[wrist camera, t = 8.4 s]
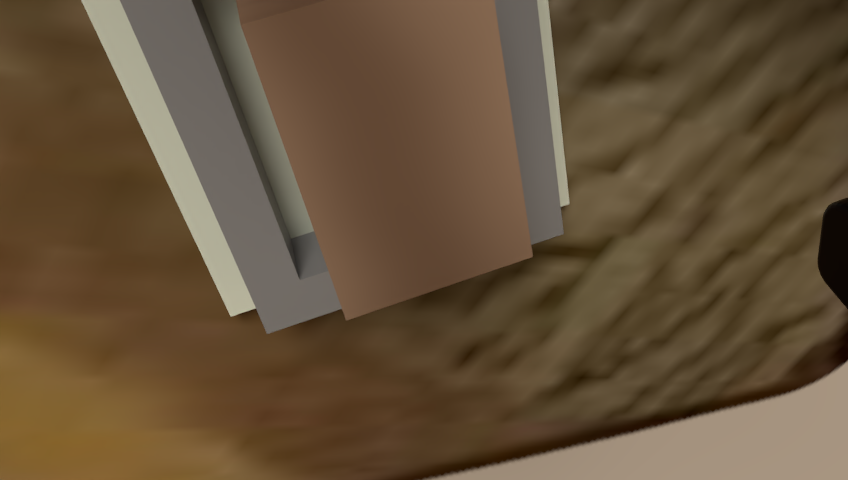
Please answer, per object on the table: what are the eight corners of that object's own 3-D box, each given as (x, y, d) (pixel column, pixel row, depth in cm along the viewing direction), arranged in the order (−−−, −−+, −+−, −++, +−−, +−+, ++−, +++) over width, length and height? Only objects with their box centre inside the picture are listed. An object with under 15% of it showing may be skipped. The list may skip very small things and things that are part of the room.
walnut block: (410, -84, 15) (487, -47, 11) (458, 158, 19) (532, 256, 14) (229, -34, 15) (240, 25, 11) (313, 205, 18) (346, 320, 14)
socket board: (512, -252, 15) (563, -264, 12) (561, 196, 21) (602, 238, 19) (26, -130, 13) (-5, -120, 11) (230, 305, 20) (233, 363, 17)
